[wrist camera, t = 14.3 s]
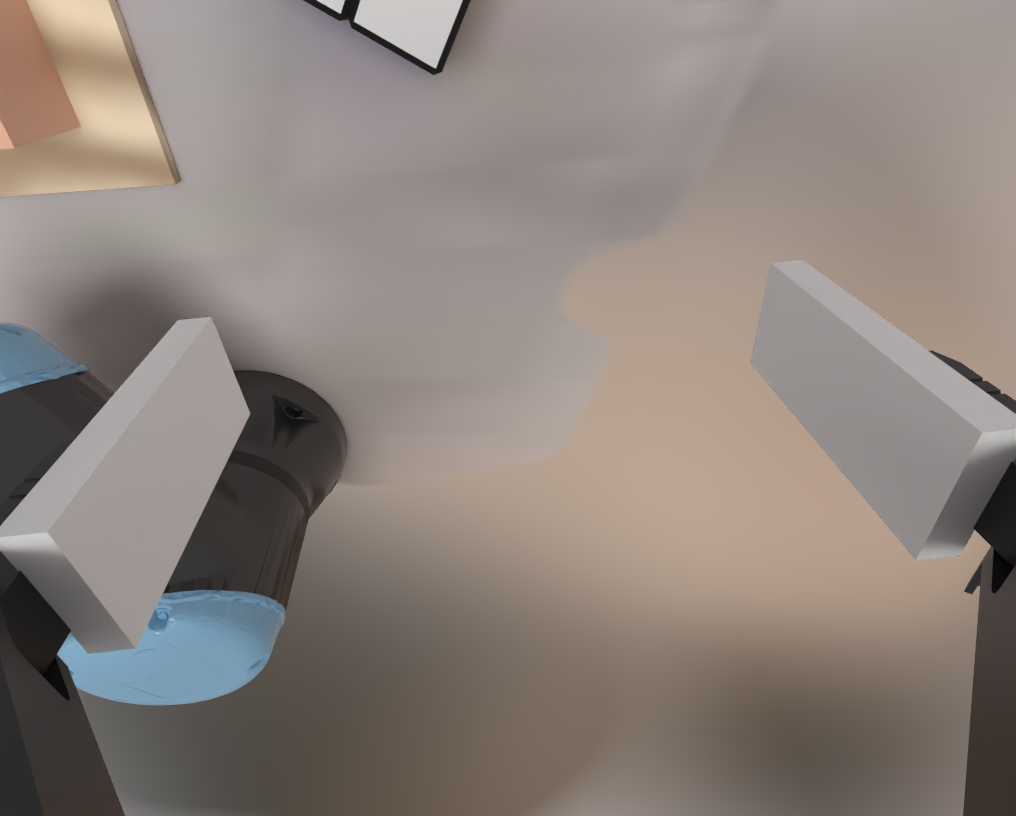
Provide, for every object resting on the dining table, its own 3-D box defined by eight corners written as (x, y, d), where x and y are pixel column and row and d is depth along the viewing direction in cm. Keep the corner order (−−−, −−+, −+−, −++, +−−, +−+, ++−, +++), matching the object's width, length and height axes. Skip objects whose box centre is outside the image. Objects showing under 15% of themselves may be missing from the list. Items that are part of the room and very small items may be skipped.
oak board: (180, 180, 40) (175, 184, 40) (-27, 195, 40) (-36, 199, 39) (69, -129, 31) (59, -133, 30) (-202, -115, 31) (-220, -119, 30)
